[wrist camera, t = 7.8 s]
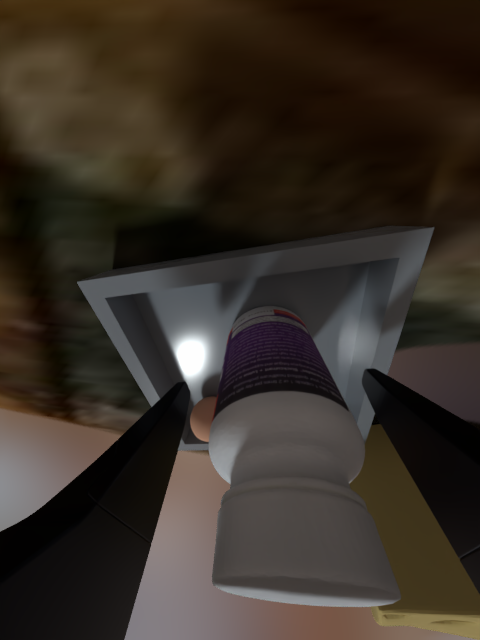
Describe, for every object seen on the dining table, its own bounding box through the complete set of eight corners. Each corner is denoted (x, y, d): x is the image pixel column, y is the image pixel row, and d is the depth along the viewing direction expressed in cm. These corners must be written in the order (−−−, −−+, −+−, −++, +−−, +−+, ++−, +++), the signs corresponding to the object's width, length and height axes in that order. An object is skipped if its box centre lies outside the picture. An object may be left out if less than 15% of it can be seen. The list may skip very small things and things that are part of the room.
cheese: (324, 474, 23) (370, 632, 14) (315, 425, 18) (375, 619, 9) (418, 468, 21) (539, 647, 12) (436, 410, 16) (659, 640, 7)
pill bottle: (213, 326, 12) (124, 571, 4) (287, 288, 11) (434, 562, 2) (252, 377, 14) (254, 609, 6) (319, 351, 13) (457, 619, 4)
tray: (389, 225, 9) (434, 227, 7) (348, 416, 17) (364, 446, 15) (111, 269, 11) (76, 282, 9) (186, 422, 19) (177, 450, 16)
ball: (228, 386, 15) (223, 425, 12) (235, 411, 16) (231, 450, 14) (191, 389, 15) (178, 426, 13) (201, 412, 17) (191, 451, 14)
